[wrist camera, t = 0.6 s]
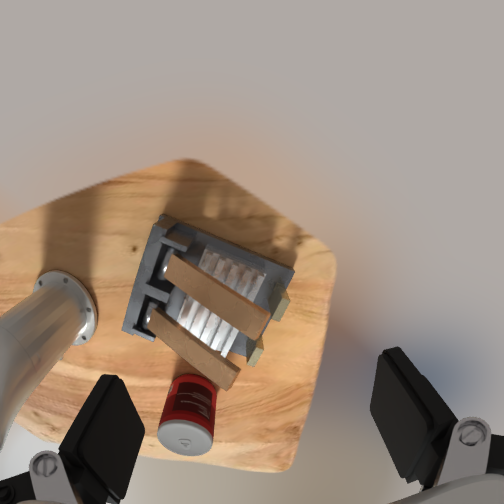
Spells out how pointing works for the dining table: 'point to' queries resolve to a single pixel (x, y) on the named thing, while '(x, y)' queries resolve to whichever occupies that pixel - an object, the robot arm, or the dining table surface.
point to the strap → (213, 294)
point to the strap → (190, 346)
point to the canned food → (188, 416)
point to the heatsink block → (220, 267)
